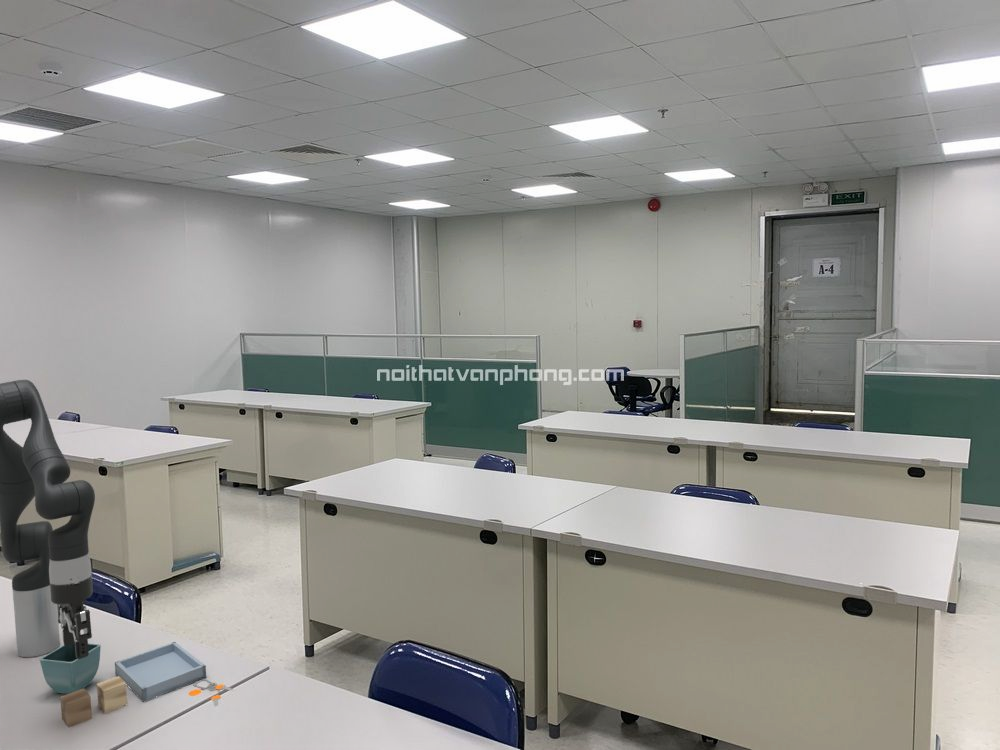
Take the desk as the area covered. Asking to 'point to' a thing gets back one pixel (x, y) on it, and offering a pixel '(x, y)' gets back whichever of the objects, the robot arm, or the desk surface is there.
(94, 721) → the desk surface
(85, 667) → the flower pot
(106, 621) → the desk surface
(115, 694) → the oak block
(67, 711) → the walnut block
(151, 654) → the tray
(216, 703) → the key chain
